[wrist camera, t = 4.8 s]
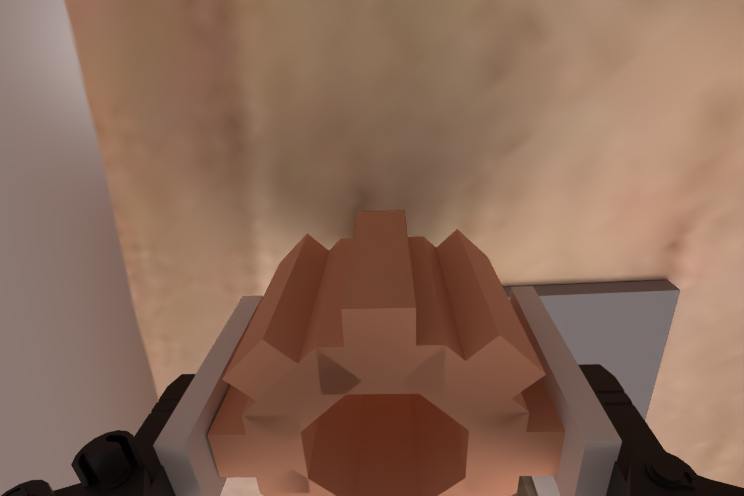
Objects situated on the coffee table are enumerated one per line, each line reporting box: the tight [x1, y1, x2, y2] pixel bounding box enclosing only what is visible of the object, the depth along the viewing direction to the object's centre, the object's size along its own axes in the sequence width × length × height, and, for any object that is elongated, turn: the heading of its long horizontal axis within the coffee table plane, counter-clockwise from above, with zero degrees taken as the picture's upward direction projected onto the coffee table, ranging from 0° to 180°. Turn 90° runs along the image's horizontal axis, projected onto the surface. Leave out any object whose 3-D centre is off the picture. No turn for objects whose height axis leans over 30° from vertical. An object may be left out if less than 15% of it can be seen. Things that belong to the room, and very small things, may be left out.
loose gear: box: [208, 210, 565, 496], centre depth 14 cm, size 9×9×6 cm
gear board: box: [503, 280, 680, 496], centre depth 27 cm, size 26×16×9 cm, turn 4°
